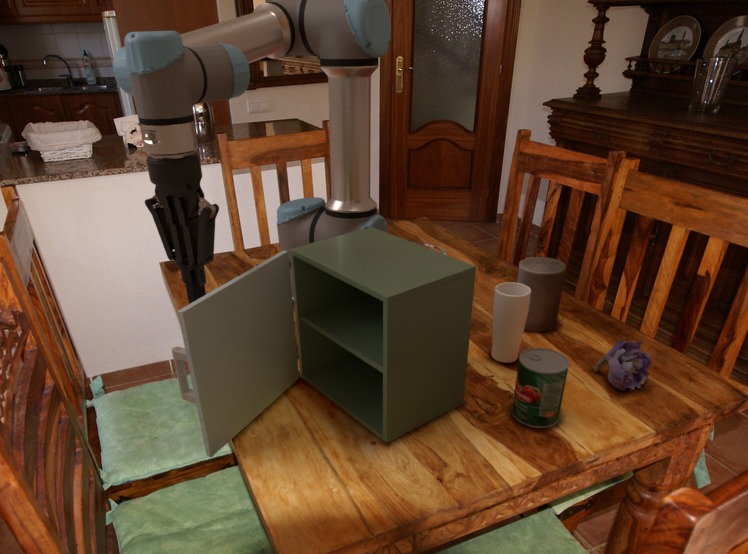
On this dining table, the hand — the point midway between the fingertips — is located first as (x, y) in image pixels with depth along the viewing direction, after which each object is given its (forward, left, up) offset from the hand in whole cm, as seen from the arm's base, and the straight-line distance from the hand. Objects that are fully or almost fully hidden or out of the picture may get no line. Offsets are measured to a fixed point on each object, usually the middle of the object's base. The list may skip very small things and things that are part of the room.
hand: (198, 302), depth 95 cm
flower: (+42, +62, -20) cm, 77 cm away
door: (+6, +3, -20) cm, 21 cm away
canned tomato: (+39, +42, -20) cm, 60 cm away
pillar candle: (+17, +70, -20) cm, 74 cm away
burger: (-8, +22, -20) cm, 30 cm away
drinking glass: (+23, +53, -20) cm, 61 cm away
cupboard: (+16, +26, -20) cm, 36 cm away
